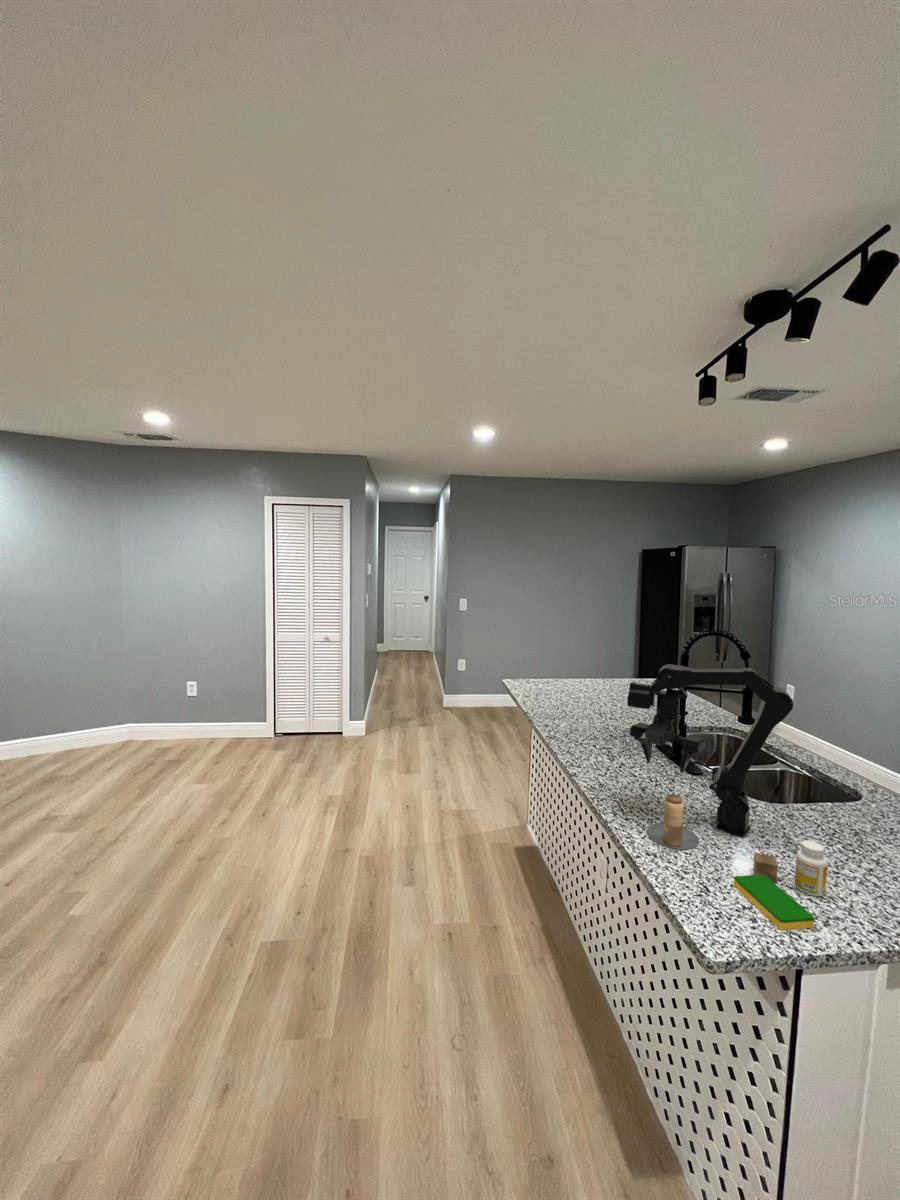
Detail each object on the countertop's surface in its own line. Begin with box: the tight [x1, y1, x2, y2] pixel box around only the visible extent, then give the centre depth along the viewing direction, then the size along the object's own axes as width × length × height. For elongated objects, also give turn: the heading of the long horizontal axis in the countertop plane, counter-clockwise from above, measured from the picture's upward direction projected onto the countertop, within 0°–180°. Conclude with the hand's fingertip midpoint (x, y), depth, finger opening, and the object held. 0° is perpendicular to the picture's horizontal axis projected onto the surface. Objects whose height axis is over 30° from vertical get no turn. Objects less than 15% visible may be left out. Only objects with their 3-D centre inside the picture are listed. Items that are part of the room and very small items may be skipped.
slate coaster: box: [646, 822, 700, 851], centre depth 131 cm, size 12×12×1 cm
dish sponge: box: [733, 874, 815, 931], centre depth 105 cm, size 7×14×2 cm, turn 7°
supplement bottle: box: [794, 840, 828, 897], centre depth 110 cm, size 5×5×10 cm
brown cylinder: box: [663, 793, 685, 847], centre depth 127 cm, size 4×4×12 cm
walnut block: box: [753, 851, 778, 884], centre depth 115 cm, size 4×4×4 cm
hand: (664, 767), depth 142 cm, fingers open, 9 cm apart
